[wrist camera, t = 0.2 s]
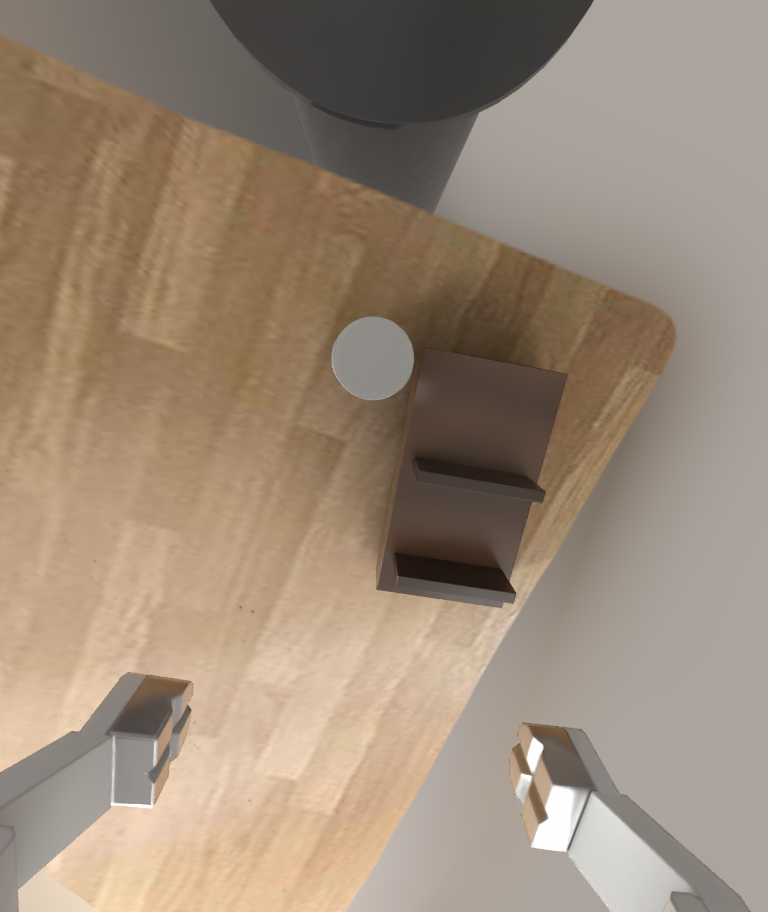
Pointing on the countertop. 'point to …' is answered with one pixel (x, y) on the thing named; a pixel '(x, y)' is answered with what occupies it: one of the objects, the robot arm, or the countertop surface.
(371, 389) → the container
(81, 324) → the countertop surface
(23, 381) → the countertop surface
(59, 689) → the countertop surface
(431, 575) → the brown two-slot stand
